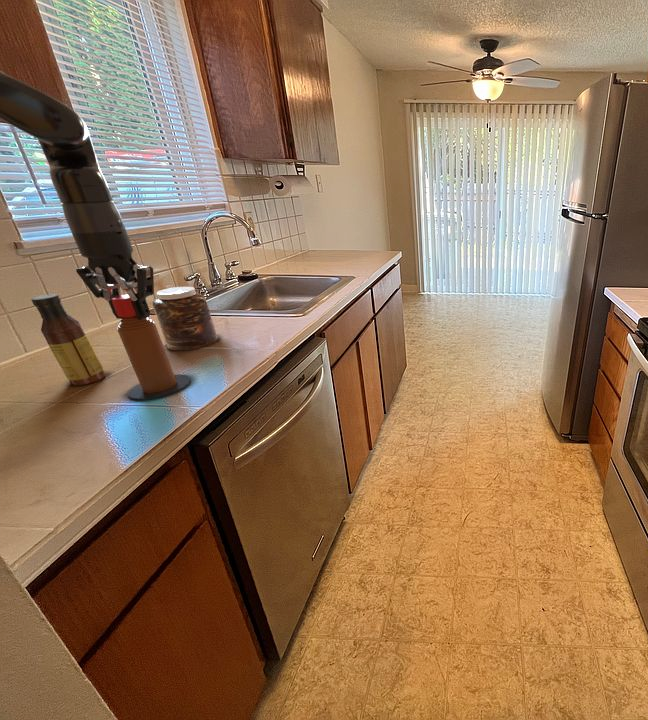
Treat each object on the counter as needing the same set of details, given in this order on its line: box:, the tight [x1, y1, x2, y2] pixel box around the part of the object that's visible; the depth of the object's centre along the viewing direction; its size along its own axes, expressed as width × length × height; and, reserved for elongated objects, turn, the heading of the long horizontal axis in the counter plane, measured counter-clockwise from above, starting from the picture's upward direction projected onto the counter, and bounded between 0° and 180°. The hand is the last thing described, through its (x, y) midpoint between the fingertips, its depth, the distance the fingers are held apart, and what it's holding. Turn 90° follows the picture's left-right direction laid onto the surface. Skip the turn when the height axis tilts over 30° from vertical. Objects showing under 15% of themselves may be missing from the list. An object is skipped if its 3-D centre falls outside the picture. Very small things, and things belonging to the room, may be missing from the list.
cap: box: [111, 293, 137, 317], centre depth 79 cm, size 4×4×4 cm
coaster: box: [127, 374, 192, 401], centre depth 87 cm, size 11×11×1 cm
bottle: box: [116, 316, 177, 393], centre depth 82 cm, size 6×6×20 cm
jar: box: [152, 286, 219, 351], centre depth 108 cm, size 12×12×15 cm
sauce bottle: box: [30, 293, 106, 386], centre depth 87 cm, size 7×6×20 cm
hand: (133, 317), depth 80 cm, fingers closed on cap, 4 cm apart
